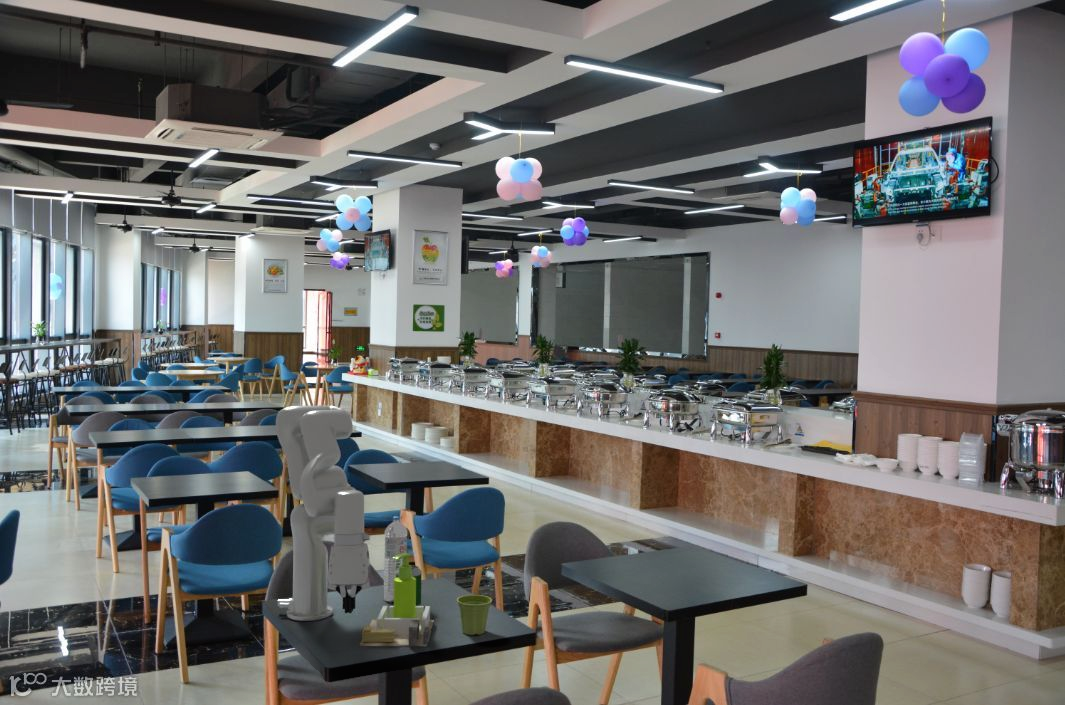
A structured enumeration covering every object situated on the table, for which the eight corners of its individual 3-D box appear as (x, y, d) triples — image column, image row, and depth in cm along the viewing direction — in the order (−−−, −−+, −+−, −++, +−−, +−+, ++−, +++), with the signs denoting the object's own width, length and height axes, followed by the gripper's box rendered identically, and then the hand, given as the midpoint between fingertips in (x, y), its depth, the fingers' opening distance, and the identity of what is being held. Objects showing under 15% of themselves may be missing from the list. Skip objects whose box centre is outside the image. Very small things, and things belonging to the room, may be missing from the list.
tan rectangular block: (362, 641, 215) (362, 628, 215) (363, 638, 218) (363, 625, 218) (393, 641, 215) (393, 628, 215) (394, 638, 218) (395, 625, 218)
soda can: (423, 605, 249) (424, 565, 249) (417, 613, 242) (418, 571, 242) (398, 604, 250) (399, 564, 250) (392, 612, 243) (392, 570, 243)
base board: (358, 647, 213) (359, 627, 213) (372, 621, 234) (372, 602, 234) (427, 647, 214) (427, 627, 214) (434, 621, 235) (435, 603, 235)
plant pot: (468, 624, 233) (468, 592, 233) (497, 629, 229) (498, 597, 229) (449, 633, 225) (450, 601, 225) (479, 639, 220) (480, 606, 220)
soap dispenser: (385, 629, 226) (387, 554, 226) (403, 622, 232) (404, 549, 232) (402, 633, 223) (403, 558, 223) (419, 626, 229) (421, 553, 229)
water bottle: (399, 595, 260) (400, 514, 260) (410, 600, 254) (411, 517, 255) (379, 599, 255) (380, 516, 255) (390, 604, 250) (392, 520, 250)
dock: (376, 634, 222) (376, 619, 222) (383, 620, 234) (383, 605, 234) (425, 634, 222) (425, 619, 222) (429, 620, 234) (430, 606, 234)
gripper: (380, 536, 220) (380, 607, 219) (323, 537, 220) (322, 608, 219) (376, 542, 213) (376, 615, 212) (316, 542, 212) (316, 616, 212)
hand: (349, 611), depth 216 cm, fingers closed
